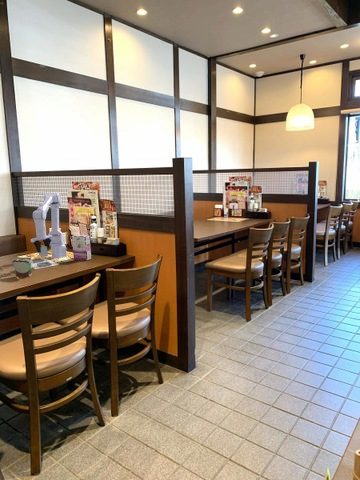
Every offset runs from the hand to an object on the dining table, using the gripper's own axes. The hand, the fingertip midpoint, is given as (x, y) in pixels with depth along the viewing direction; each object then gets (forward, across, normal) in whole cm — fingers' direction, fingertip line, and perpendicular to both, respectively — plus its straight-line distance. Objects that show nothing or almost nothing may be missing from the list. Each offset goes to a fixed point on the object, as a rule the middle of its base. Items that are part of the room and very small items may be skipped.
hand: (43, 251), depth 218 cm
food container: (+10, +18, +8) cm, 22 cm away
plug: (+3, 0, 0) cm, 3 cm away
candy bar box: (+10, -23, +9) cm, 27 cm away
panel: (+9, -2, -7) cm, 12 cm away
